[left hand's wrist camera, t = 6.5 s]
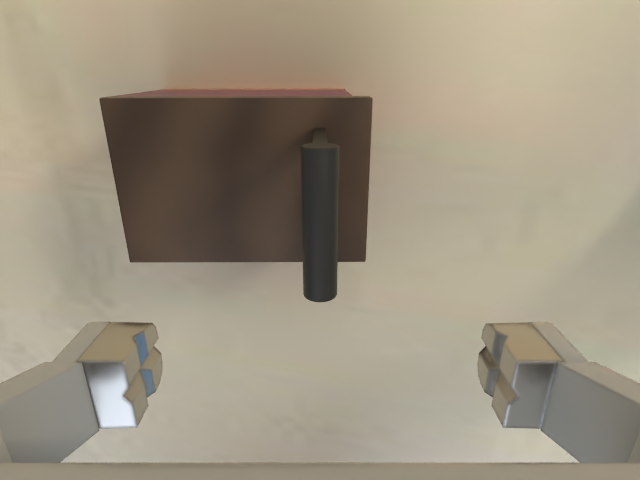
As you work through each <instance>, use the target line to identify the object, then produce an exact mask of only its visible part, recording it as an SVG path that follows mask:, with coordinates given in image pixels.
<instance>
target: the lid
mask: <svg viewBox="0 0 640 480" xmlns="http://www.w3.org/2000/svg"><path fill="white" fill-rule="evenodd" d="M100 105H101V110H102V115H103V120H104V126H105V131H106V136H107V142H108V147H109V152H110V158H111V163H112V168H113V174H114V179H115V184H116V190H117V195H118V200H119V206H120V211H121V216H122V221H123V227H124V232H125V237H126V243H127V248H128V253H129V259H130V262H303V289H304V296H305V297H306V298H307V299H308V300H310V301H314V302H326V301H330V300H332V299H334V298H335V297H336V295H337V262H365V260H366V238H367V214H368V191H369V167H370V144H371V121H372V98H371V97H369V96H197V97H104V98H100Z"/></svg>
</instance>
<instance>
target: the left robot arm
mask: <svg viewBox="0 0 640 480" xmlns="http://www.w3.org/2000/svg"><path fill="white" fill-rule="evenodd" d="M157 339H158V334H157V329H156V326H155V325H154V324H153V323H133V322H92V323H88V324H87V325H86V326H85V327H84V328H83V329H82V330H81V331H80V332H79V333H78V334H77V336H76V337H75V338H74V339H73V340H72V341H71V342H70V343H69V344H68V345H67V346H66V347H65V348H64V350H63V351H62V352H61V353H60V354H59V355H58V356H57V357H56V358H55V359H54V360H53V361H52V362H45V363H42V364H40V365H38V366H36V367H34V368H32V369H30V370H28V371H26V372H24V373H21V374H19V375H17V376H15V377H13V378H11V379H9V380H7V381H5V382H2V383H0V480H640V384H639V383H637V382H635V381H633V380H631V379H629V378H627V377H625V376H623V375H621V374H618V373H616V372H614V371H612V370H610V369H608V368H606V367H604V366H602V365H600V364H598V363H595V362H588V361H587V360H586V359H585V358H584V357H583V356H582V355H581V354H580V353H579V352H578V351H577V349H576V348H575V347H574V346H573V345H572V344H571V343H570V342H569V341H568V340H567V339H566V338H565V337H564V335H563V334H562V333H561V332H560V331H559V330H558V329H557V328H556V327H555V326H554V325H553V324H552V323H549V322H527V323H489V324H486V325H485V327H484V329H483V333H482V339H483V341H484V343H485V345H486V347H485V348H484V349H483V350H482V351H481V352H480V353H479V357H478V376H479V379H480V383H481V385H482V387H483V390H484V392H486V393H487V394H489V395H490V396H491V397H493V401H492V407H493V409H494V411H495V413H496V415H497V417H498V419H499V421H500V423H501V424H502V426H503V428H538V429H541V431H542V432H543V433H545V434H546V435H547V436H548V437H550V438H551V439H552V440H553V441H554V442H556V443H557V444H558V445H559V446H561V447H562V448H563V449H564V450H566V451H567V452H568V453H569V454H570V455H572V456H573V457H574V458H575V459H577V460H578V461H579V462H580V463H60V462H61V461H62V460H64V459H65V458H66V457H67V456H68V455H70V454H71V453H72V452H73V451H75V450H76V449H77V448H78V447H80V446H81V445H82V444H83V443H84V442H86V441H87V440H88V439H89V438H91V437H92V436H93V435H94V434H96V433H97V432H98V431H99V429H102V428H137V426H138V425H139V423H140V421H141V419H142V417H143V415H144V413H145V411H146V409H147V407H148V401H147V397H149V396H150V395H151V394H153V393H154V392H156V389H157V387H158V385H159V383H160V379H161V375H162V357H161V353H160V352H159V351H158V350H157V349H156V348H155V347H154V345H155V343H156V341H157Z"/></svg>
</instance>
